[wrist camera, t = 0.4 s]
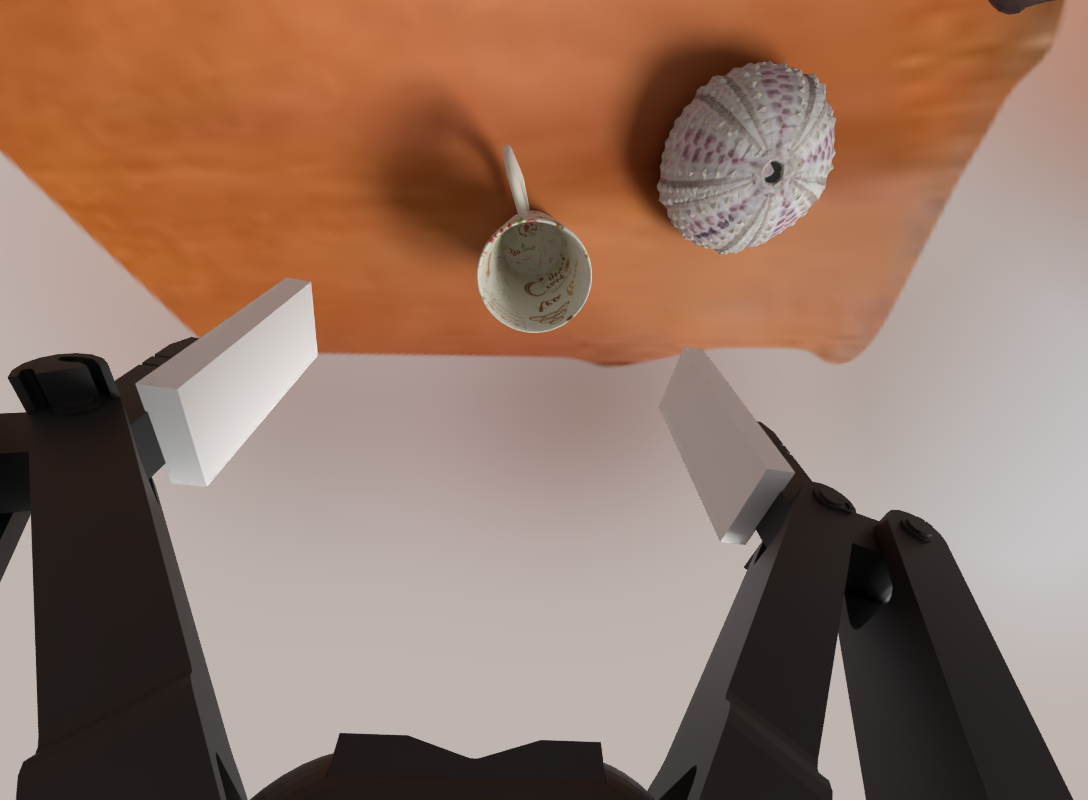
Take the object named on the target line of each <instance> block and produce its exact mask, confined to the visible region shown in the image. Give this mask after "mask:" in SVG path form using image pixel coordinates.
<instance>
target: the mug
mask: <svg viewBox="0 0 1088 800" xmlns="http://www.w3.org/2000/svg"><path fill="white" fill-rule="evenodd" d="M503 158H504V163H505V168H506V172H507V176H508V180H509V184H510V188H511V191H512V195H513V199H514V202H515V205H516V209H517V212H518V214H516V215H515V216H513V217H512V218H510V219H509V220H508V221H507V222H506V223H505V224H504V225H503V226H501V227H500V228H499V229H498V230H497V231H496V232H495V233H494V234H493V235H492V236H491V237H490V239H489V240H488V241H487V243H486V244H485V246H484V248H483V250H482V252H481V255H480V258H479V261H478V266H477V284H478V289H479V293H480V296H481V298H482V300H483V302H484V304H485V306H486V307H487V309H488V310H489V311H490V313H491V314H492V315H493V316H494V317H495V318H496V319H498V320H499V321H500V322H502V323H503V324H505V325H506V326H508V327H510V328H513V329H515V330H519V331H522V332H530V333H539V332H546V331H550V330H553V329H556V328H558V327H560V326H562V325H564V324H566V323H567V322H569V321H570V320H571V319H572V318H573V317H574V316H576V314H577V313H578V312H579V311H580V310H581V308H582V307H583V305H584V304H585V302H586V300H587V297H588V295H589V292H590V288H591V282H592V268H591V263H590V259H589V256H588V253H587V251H586V249H585V247H584V245H583V244H582V242H581V241H580V239H579V238H578V237H577V236H576V235H575V234H574V233H573V232H572V231H571V230H570V229H569V228H567V227H566V226H565V225H563V224H562V223H560V222H559V221H557V220H556V219H554V218H553V217H551V216H550V215H548V214H546V213H544V212H540V211H534V210H530V209H529V203H528V197H527V193H526V188H525V183H524V178H523V175H522V172H521V169H520V167H519V165H518V163H517V160H516V158H515V155H514V153H513V150H512V149H511V147H510V146H509V145H504V147H503Z"/></svg>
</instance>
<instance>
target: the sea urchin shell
mask: <svg viewBox="0 0 1088 800" xmlns="http://www.w3.org/2000/svg"><path fill="white" fill-rule="evenodd" d="M835 121H836V118H834V117H833V110H832V107H831V106H830V105H829V104H827V101H826V89H825V84H821V83H819V81H818V78H816V76H815V74H802V70H797V68H796V67H795V68H789V67H788V66H787V64H786V62H785V63H783V64H780V63H778V64H773V63H772V62H771V61H768V62H767V63H766V62H763V63H761V62H758V63H756V64H753V63H748V64H746V65H745V66H744V67H742V68H733V69H732V70H731V71H730V72H729V73H728V74H727V75H725V76H718V75H716V76H712V78H711V79H710V81H709V83H708V84H707V85H706V86H701V87H700V89H697V92H696V95H695V97H694V99H693V101H692V102H691V104H689V105H688V106H686V107H684V110H683V112H682V114H681V116H680V117H679V118H677V119H676V120H675V121H674V128H673V129H672V130H671V131H670V133H669V138H668V139H667V140H666V141H665V150H664V151H663V153H662V163H661V165H660V170H661V175H660V180H659V182H658V184H657V187H658V188H657V189H658V191H659V193H660V197H659V200H658V201H660V202H661V203H662V204H663V205H664V206H665V207H666V209H667V213H668V217H669V218H670V219H671V223H672V224H673V225H674V227H675V228H678V231H679V233H681V235H682V236H684V239H685V240H690V241H692V243H693V244H696V246H697V245H701V246H702V247H703V248H705V249H707V248H710V249H714V250H715V251H717V252H718V253H719V254H720V255H722V254H728V253H729V252H730V253H732V252H733V253H735V254H736V253H737V252H739V251H741V250H743V249H745V248H747V247H751V248H752V247H753V246H754V247H756V246H758V245H759V244H764V243H765V242H766V241H769V239H770V238H773V237H774V236H776V235H777V234H781V233H782V231H783V230H785V229H786V228H787V227H788V226H793V225H794V223H795V222H796V220H797V219H798V218H800V217H803V216H805V215H806V214H807V210H808V208H809V207H810V206H811V205H812V204H813V203H814V202H816V201H817V200H818V199H819V198H820V194H821V193H822V191H823V190H824V189H825V187H826V178H827V175H828V173H829V172H830V171H831V170H832V169H833V168H834V167H833V165H832V158H833V156H834V155H835V154H836V153H835V151H834V149H833V147H834V141H835V138H834V123H835Z"/></svg>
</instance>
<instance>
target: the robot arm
mask: <svg viewBox="0 0 1088 800" xmlns="http://www.w3.org/2000/svg"><path fill="white" fill-rule="evenodd" d="M317 356H318V354H317V343H316V332H315V320H314V309H313V298H312V287H311V282H309V281H303V280H297V279H292V278H285V279H283V280H282V281H281V282H279V283H278V284H276V285H275V286H274V287H272V288H271V289H269V290H268V291H266V292H265V293H264V294H262V295H261V296H259V297H258V298H256V299H255V300H254V301H252V302H251V303H249V304H248V305H246V306H245V307H244V308H242V309H241V310H239V311H238V312H237V313H235V314H234V315H232V316H231V317H229V318H228V319H227V320H225V321H224V322H222V323H221V324H219V325H218V326H217V327H215V328H214V329H212V330H211V331H209V332H208V333H207V334H205V335H204V336H202V337H201V338H194V337H190V338H188V339H184V340H182V341H179V342H176V343H173V344H170V345H168V346H167V347H166V348H164V349H162V350H161V351H159V352H158V353H156V354H155V357H153V356H152V357H150V358H149V359H147V360H146V361H144V362H143V364H142V365H138V366H136V367H135V368H134V369H132V370H130V371H129V372H127V373H126V374H124V375H123V376H121V377H120V378H118V379H117V380H116V381H114V379H113V376H112V373H111V371H110V368H109V366H108V364H107V362H106V361H105V360H104V359H103V358H101V357H98V356H95V355H91V354H79V353H73V354H57V355H52V356H47V357H42V358H38V359H35V360H32V361H29V362H26V363H23V364H22V365H20V366H18V367H17V368H15V369H13V370H12V371H11V373H10V375H9V376H8V379H9V381H10V383H11V385H12V386H13V388H14V390H15V392H16V394H17V396H18V397H19V399H20V401H21V403H22V405H23V407H24V408H25V410H26V412H25V413H5V414H4V413H3V414H0V581H1V579H2V577H3V575H4V572H5V570H6V568H7V566H8V563H9V561H10V559H11V557H12V555H13V552H14V550H15V548H16V546H17V543H18V541H19V539H20V537H21V534H22V532H23V530H24V528H25V526H26V523H27V521H28V519H29V517H30V514H31V525H32V526H31V527H32V528H31V529H32V558H33V586H34V613H35V614H34V616H35V645H36V674H37V703H38V733H39V739H38V748H37V751H36V754H35V755H34V756H32V757H30V758H29V759H27V760H26V761H24V762H23V764H22V767H21V769H20V772H19V775H18V782H17V794H16V800H247V796H246V793H245V790H244V787H243V784H242V781H241V778H240V775H239V772H238V769H237V767H236V764H235V761H234V758H233V755H232V752H231V749H230V745H229V742H228V738H227V735H226V732H225V728H224V724H223V721H222V718H221V714H220V710H219V707H218V704H217V700H216V697H215V693H214V689H213V686H212V682H211V679H210V676H209V672H208V668H207V665H206V662H205V658H204V654H203V651H202V648H201V644H200V640H199V637H198V633H197V630H196V626H195V623H194V620H193V616H192V613H191V609H190V606H189V602H188V598H187V595H186V591H185V588H184V585H183V581H182V577H181V574H180V571H179V567H178V563H177V560H176V556H175V553H174V549H173V546H172V542H171V539H170V535H169V532H168V528H167V525H166V521H165V518H164V514H163V511H162V507H161V504H160V500H159V497H158V493H157V490H156V487H155V484H154V481H153V479H152V476H153V475H154V474H155V473H156V472H157V471H158V470H159V469H160V468H161V467H162V466H163V465H165V468H166V470H167V473H168V476H169V479H170V482H171V483H175V484H185V485H194V486H203V487H207V486H208V485H209V484H210V483H211V481H212V480H213V479H214V478H215V477H216V475H217V474H218V473H219V472H220V471H221V469H222V468H223V467H224V466H225V465H226V463H227V462H228V461H229V460H230V459H231V458H232V456H233V455H234V454H235V453H236V452H237V450H238V449H239V448H240V447H241V446H242V445H243V443H244V442H245V441H246V440H247V438H248V437H249V436H250V435H251V434H252V433H253V431H254V430H255V429H256V428H257V427H258V425H259V424H260V423H261V422H262V421H263V420H264V418H265V417H266V416H267V415H268V413H269V412H270V411H271V410H272V409H273V408H274V407H275V405H276V404H277V403H278V402H279V401H280V399H281V398H282V397H283V396H284V395H285V394H286V392H287V391H288V390H289V389H290V388H291V386H292V385H293V384H294V383H295V382H296V380H297V379H298V378H299V377H300V376H301V375H302V373H303V372H304V371H305V370H306V369H307V367H308V366H309V365H310V364H311V363H312V361H313V360H314V359H315V358H316V357H317ZM659 408H660V410H661V413H662V415H663V417H664V419H665V421H666V424H667V426H668V428H669V430H670V432H671V435H672V437H673V439H674V441H675V443H676V446H677V448H678V450H679V452H680V454H681V457H682V459H683V461H684V463H685V465H686V468H687V470H688V472H689V474H690V476H691V479H692V481H693V483H694V485H695V487H696V489H697V492H698V494H699V496H700V498H701V500H702V503H703V505H704V507H705V509H706V511H707V514H708V516H709V518H710V520H711V522H712V525H713V527H714V529H715V531H716V533H717V535H718V538H719V540H720V542H726V543H736V544H746V543H747V542H748V540H749V539H750V538H751V536H752V535H753V533H754V532H755V530H757V532H758V534H759V536H760V538H761V539H762V543H761V544H760V545H759V547H758V548H757V550H756V551H755V552H754V554H753V555H752V556H751V558H750V559H749V561H748V562H747V563H746V565H745V566H744V568H745V569H747V572H746V575H745V577H744V579H743V581H742V584H741V586H740V589H739V591H738V593H737V595H736V598H735V600H734V602H733V605H732V607H731V609H730V611H729V614H728V616H727V619H726V621H725V623H724V626H723V628H722V630H721V632H720V635H719V637H718V639H717V642H716V644H715V646H714V648H713V651H712V653H711V655H710V658H709V660H708V662H707V665H706V667H705V669H704V672H703V674H702V676H701V679H700V681H699V683H698V686H697V688H696V690H695V692H694V695H693V697H692V699H691V702H690V704H689V706H688V708H687V711H686V713H685V716H684V718H683V720H682V722H681V725H680V727H679V729H678V732H677V734H676V736H675V739H674V741H673V743H672V746H671V748H670V750H669V752H668V755H667V757H666V759H665V761H664V763H663V765H662V767H661V769H660V771H659V772H658V774H657V776H656V777H655V779H654V780H653V782H652V784H651V785H650V787H649V789H648V791H646V790H645V789H644V788H643V787H642V786H641V785H640V784H639V783H637V782H636V781H635V780H633V779H632V778H630V777H629V776H627V775H626V774H625V773H623V772H622V771H620V770H618V769H616V768H614V767H612V766H610V765H608V764H605V763H603V757H602V749H601V742H578V741H577V742H576V741H549V740H540V741H536V742H533V743H530V744H526V745H523V746H520V747H516V748H513V749H509V750H506V751H503V752H499V753H496V754H493V755H489V756H486V757H482V758H478V759H472V758H468V757H465V756H462V755H459V754H456V753H454V752H451V751H448V750H446V749H443V748H440V747H438V746H435V745H432V744H429V743H427V742H424V741H421V740H419V739H416V738H413V737H410V736H407V735H378V734H348V733H340V734H339V738H338V741H337V744H336V748H335V751H334V753H333V754H329V755H326V756H322V757H320V758H317V759H315V760H312V761H310V762H308V763H305V764H303V765H301V766H299V767H297V768H296V769H294V770H292V771H290V772H288V773H287V774H284V775H283V776H281V777H280V778H278V779H277V780H276V781H274V782H272V783H271V784H270V785H268V786H267V787H265V788H264V789H263V790H261V791H260V792H259V793H258V794H256V795H255V796H254V797H253V798H252V799H250V800H832V789H831V786H830V783H829V780H827V779H826V778H825V777H823V776H822V775H821V774H820V773H819V772H818V769H817V766H818V765H817V764H818V755H819V749H820V743H821V736H822V730H823V724H824V718H825V712H826V705H827V699H828V692H829V686H830V680H831V674H832V667H833V661H834V655H835V648H836V642H837V636H838V633H839V639H840V645H841V651H842V657H843V663H844V669H845V675H846V681H847V687H848V693H849V699H850V705H851V711H852V717H853V723H854V730H855V736H856V742H857V748H858V753H859V760H860V766H861V772H862V778H863V783H864V790H865V796H866V800H1073V798H1072V796H1071V794H1070V792H1069V790H1068V788H1067V786H1066V784H1065V782H1064V780H1063V778H1062V776H1061V774H1060V772H1059V770H1058V768H1057V766H1056V764H1055V762H1054V760H1053V758H1052V756H1051V754H1050V752H1049V750H1048V748H1047V746H1046V743H1045V742H1044V739H1043V737H1042V735H1041V733H1040V731H1039V729H1038V727H1037V725H1036V723H1035V721H1034V719H1033V717H1032V715H1031V713H1030V711H1029V709H1028V707H1027V705H1026V703H1025V701H1024V699H1023V697H1022V695H1021V693H1020V691H1019V689H1018V687H1017V685H1016V683H1015V681H1014V679H1013V677H1012V675H1011V673H1010V671H1009V669H1008V667H1007V665H1006V663H1005V660H1004V659H1003V657H1002V654H1001V652H1000V650H999V648H998V646H997V645H996V642H995V640H994V638H993V636H992V634H991V632H990V630H989V628H988V626H987V624H986V622H985V620H984V618H983V616H982V614H981V612H980V610H979V608H978V606H977V604H976V602H975V600H974V598H973V596H972V594H971V592H970V590H969V588H968V586H967V584H966V582H965V580H964V577H963V576H962V573H961V571H960V569H959V567H958V565H957V564H956V561H955V559H954V557H953V555H952V553H951V551H950V549H949V547H948V545H947V543H946V542H945V540H944V539H943V537H942V536H941V535H940V534H939V533H938V532H937V531H936V530H935V529H934V528H933V527H932V526H931V525H930V524H929V523H927V522H925V521H924V520H923V519H921V518H919V517H916V516H914V515H912V514H910V513H907V512H903V511H900V510H891V511H889V512H888V513H887V514H886V515H885V516H884V517H883V518H882V519H881V520H880V521H877V520H874V519H871V518H868V517H865V516H863V515H860V514H857V513H856V510H855V508H854V506H853V505H852V503H851V502H850V501H849V500H848V499H847V498H846V497H844V496H843V495H842V494H841V493H839V492H838V491H836V490H834V489H833V488H831V487H828V486H826V485H824V484H821V483H816V482H812V481H811V479H810V478H809V477H808V476H807V474H806V473H805V472H804V470H803V469H802V468H801V467H800V465H799V464H798V463H797V461H796V460H795V459H794V458H793V456H792V455H790V452H789V451H788V450H787V449H786V447H785V446H783V443H782V442H781V441H780V440H779V438H778V437H777V436H776V434H775V433H774V432H773V431H771V430H770V429H769V428H768V427H766V426H765V425H764V424H763V423H761V422H757V421H756V420H755V418H754V417H753V416H752V414H751V413H750V412H749V411H748V409H747V408H746V406H745V405H744V404H743V402H742V401H741V400H740V398H739V397H738V396H737V394H736V393H735V392H734V390H733V389H732V388H731V386H730V385H729V384H728V382H727V381H726V380H725V378H724V377H723V376H722V374H721V373H720V372H719V370H718V369H717V368H716V366H715V365H714V364H713V362H712V361H711V360H710V358H709V357H708V356H707V354H706V353H705V352H704V350H701V349H695V348H689V347H684V348H683V350H682V353H681V355H680V358H679V360H678V363H677V365H676V367H675V370H674V372H673V374H672V377H671V379H670V382H669V384H668V386H667V389H666V391H665V394H664V396H663V399H662V401H661V403H660V406H659Z"/></svg>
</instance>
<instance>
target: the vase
mask: <svg viewBox="0 0 1088 800" xmlns="http://www.w3.org/2000/svg"><path fill="white" fill-rule="evenodd" d="M988 1H989V2H990V3H991V5H992V6H993V7H994V8H996V9H997V10H998V11H999V12H1002V13H1005V14H1015V13H1020V12H1021V11H1022V10H1023V9H1025V8H1026V7H1028V6H1032V5H1035V4H1039V3H1043V2H1046V1H1053V0H988Z"/></svg>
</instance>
